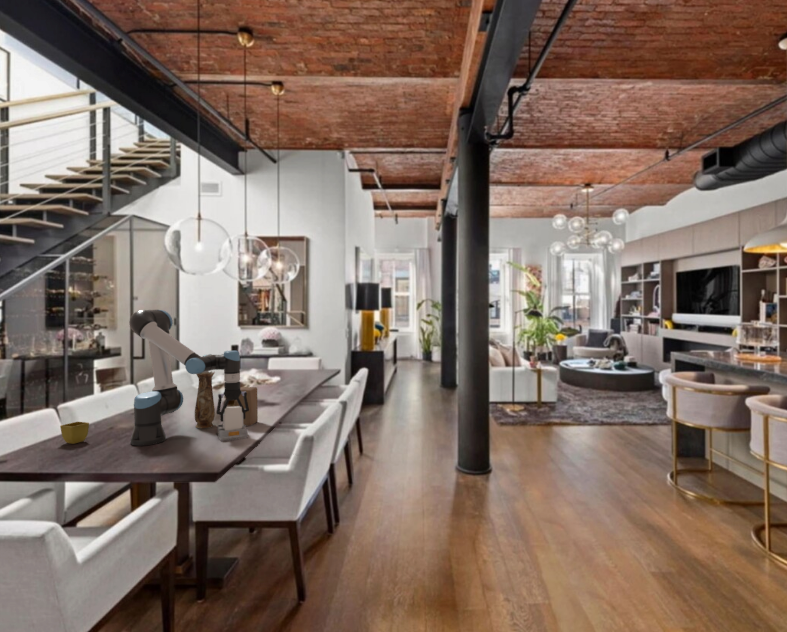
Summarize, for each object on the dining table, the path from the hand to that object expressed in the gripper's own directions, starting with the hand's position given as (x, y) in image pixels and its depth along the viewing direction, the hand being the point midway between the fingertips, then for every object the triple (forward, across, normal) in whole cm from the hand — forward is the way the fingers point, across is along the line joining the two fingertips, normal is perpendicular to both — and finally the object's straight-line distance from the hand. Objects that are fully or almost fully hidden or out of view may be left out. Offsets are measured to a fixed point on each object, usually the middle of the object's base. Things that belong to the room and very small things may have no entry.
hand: (233, 426), depth 230 cm
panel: (+1, 0, 0) cm, 1 cm away
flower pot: (+5, -70, +27) cm, 75 cm away
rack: (+5, 0, +3) cm, 6 cm away
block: (+6, +10, +25) cm, 27 cm away
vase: (+5, -11, +30) cm, 32 cm away
